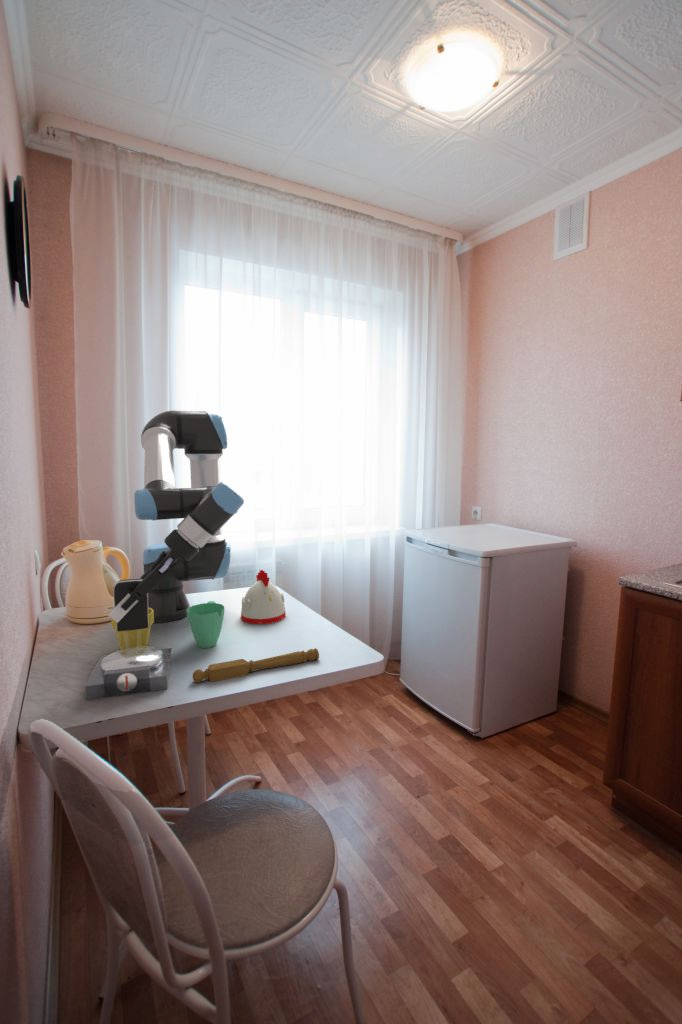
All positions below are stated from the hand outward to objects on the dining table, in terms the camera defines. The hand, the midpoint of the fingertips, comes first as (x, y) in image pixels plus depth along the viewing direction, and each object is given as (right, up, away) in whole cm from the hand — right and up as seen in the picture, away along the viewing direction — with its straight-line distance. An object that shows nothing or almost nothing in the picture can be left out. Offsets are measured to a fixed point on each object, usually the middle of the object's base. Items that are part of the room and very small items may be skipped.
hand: (114, 615), depth 107 cm
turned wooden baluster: (+32, -15, +6) cm, 35 cm away
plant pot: (-4, -13, +19) cm, 24 cm away
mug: (+15, -12, +24) cm, 30 cm away
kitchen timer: (+27, -10, +44) cm, 52 cm away
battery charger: (+4, -3, +2) cm, 5 cm away
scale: (+3, -15, +2) cm, 15 cm away
